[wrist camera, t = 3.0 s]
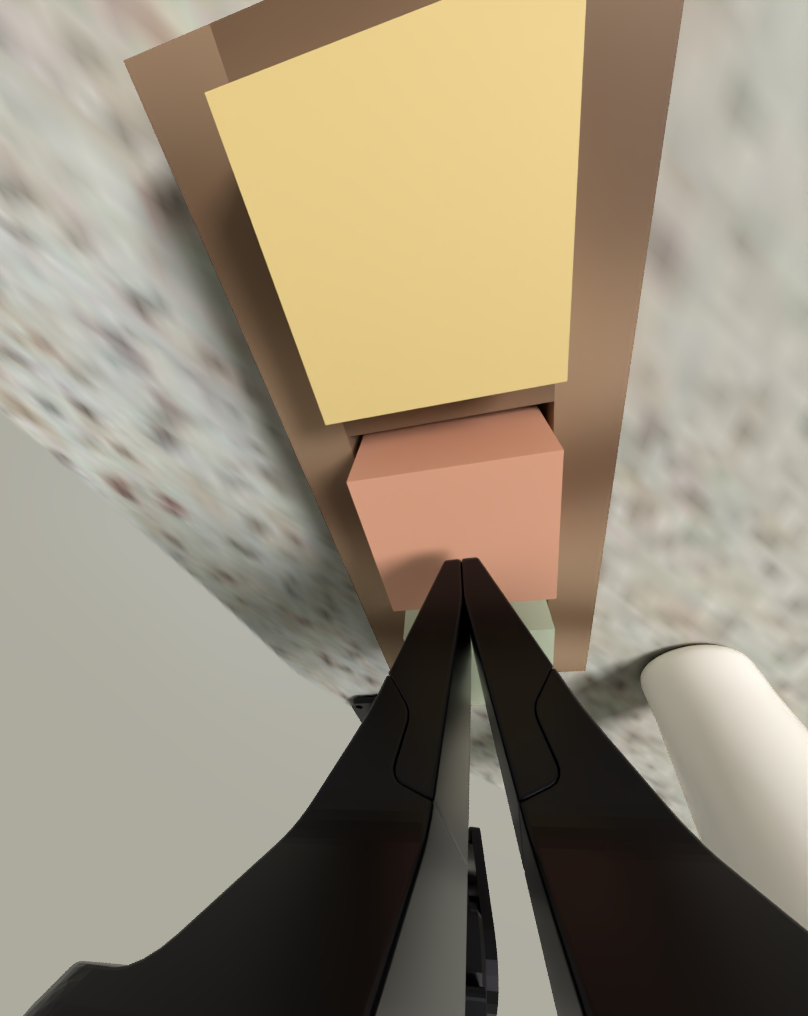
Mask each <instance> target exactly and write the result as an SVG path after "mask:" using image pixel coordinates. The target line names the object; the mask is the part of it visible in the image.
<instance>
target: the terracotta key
mask: <svg viewBox="0 0 808 1016" xmlns="http://www.w3.org/2000/svg"><path fill="white" fill-rule="evenodd" d="M563 457H564V449H563V448H562V446H561V444H560V443H559V441H558V439H557V438H556V436H555V435H554V433H553V431H552V430H551V428H550V426H549V425H548V423H547V421H546V420H545V418H544V417H543V415H542V413H541V412H540V410H539V408H538V407H537V405H530V406H524V407H519V408H513V409H507V410H501V411H496V412H490V413H484V414H478V415H472V416H467V417H461V418H455V419H449V420H444V421H438V422H432V423H426V424H421V425H415V426H409V427H403V428H398V429H392V430H386V431H380V432H374V433H369V434H364V436H363V439H362V442H361V444H360V447H359V450H358V452H357V455H356V458H355V460H354V463H353V466H352V469H351V471H350V474H349V477H348V479H347V482H346V483H347V485H348V488H349V491H350V494H351V496H352V499H353V502H354V505H355V507H356V510H357V513H358V516H359V518H360V521H361V524H362V527H363V529H364V532H365V535H366V538H367V540H368V543H369V546H370V548H371V551H372V554H373V557H374V559H375V562H376V565H377V568H378V570H379V573H380V576H381V579H382V581H383V584H384V587H385V590H386V592H387V595H388V598H389V601H390V603H391V606H392V609H393V611H405V610H418V609H421V607H422V605H423V603H424V601H425V599H426V597H427V595H428V593H429V591H430V589H431V586H432V584H433V582H434V580H435V578H436V576H437V574H438V572H439V570H440V568H441V566H442V564H443V562H444V561H446V560H452V559H460V560H461V562H462V559H463V558H472V557H477V558H479V559H480V561H481V562H482V564H483V565H484V566H485V568H486V569H487V571H488V572H489V574H490V575H491V577H492V578H493V579H494V581H495V582H496V584H497V585H498V587H499V588H500V590H501V591H502V592H503V594H504V595H505V597H506V598H507V600H508V601H509V602H521V601H534V600H547V599H556V598H557V578H558V558H559V537H560V517H561V497H562V477H563Z"/></svg>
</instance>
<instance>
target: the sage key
mask: <svg viewBox="0 0 808 1016" xmlns="http://www.w3.org/2000/svg"><path fill="white" fill-rule="evenodd" d="M509 603H510V604H511V605H512V607H513V608H514V610H515V611H516V613H517V614H518V616H519V617H520V618H521V620H522V621H523V623H524V624H525V626H526V627H527V628H528V630H529V631H530V633H531V634H532V636H533V637H534V639H535V640H536V641H537V643H538V644H539V646H540V647H541V649H542V650H543V652H544V653H545V654H546V656H547V657H548V659H549V660H550V662H551V663H552V665H553V658H554V638H555V628H554V624H553V621H552V618H551V614H550V611H549V608H548V605H547V601H546V600H534V601H521V602H509ZM419 611H420V609H418V610H406V612H405V624H404V636H403V639H404V641H405V639H406V637H407V635H408V633H409V631H410V629H411V627H412V625H413V623H414V621H415V619H416V617H417V615H418V613H419ZM471 646H472V641H471ZM479 705H486V704H485V700H484V695H483V691H482V687H481V682H480V678H479V674H478V670H477V665H476V661H475V657H474V652H473V647H472V664H471V706H479Z"/></svg>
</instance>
